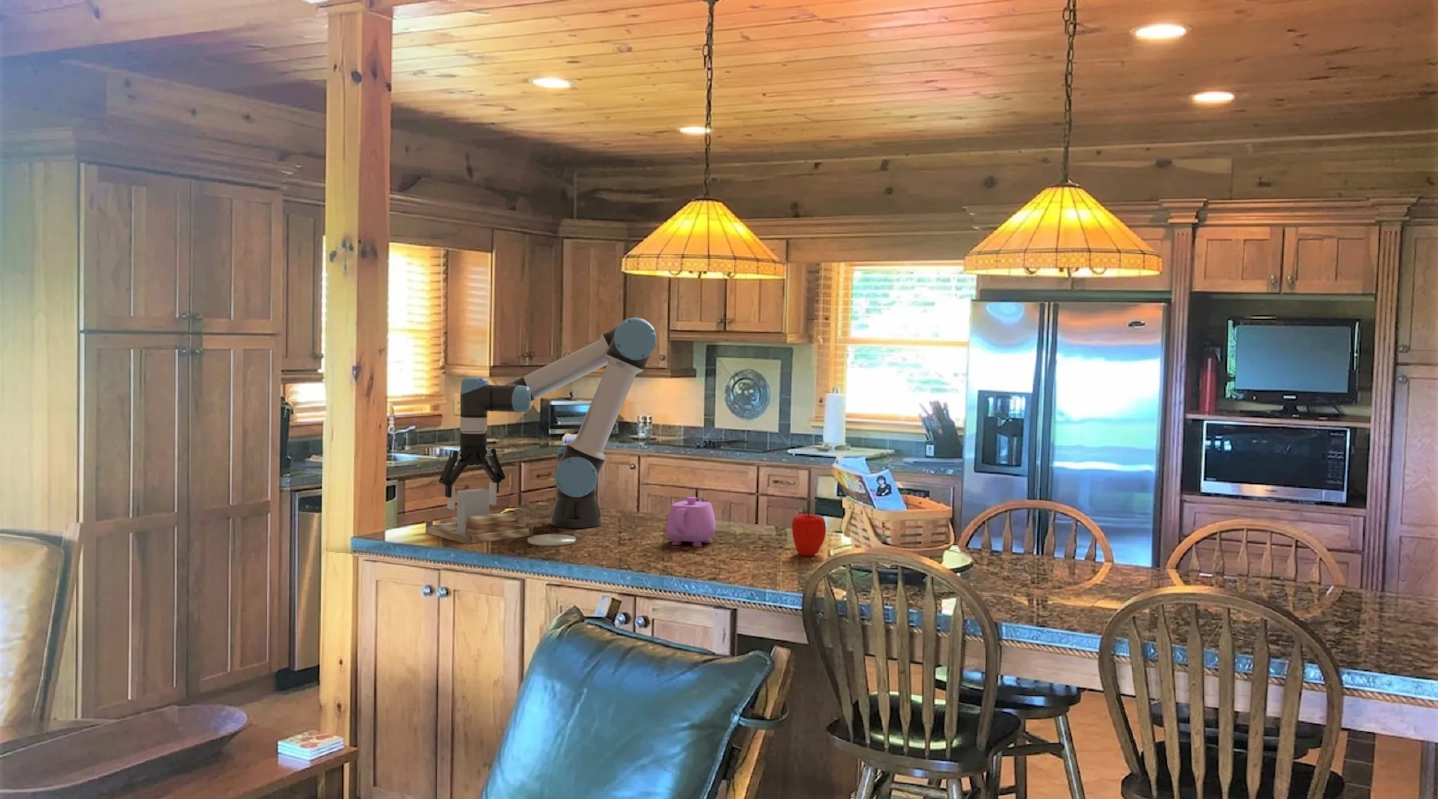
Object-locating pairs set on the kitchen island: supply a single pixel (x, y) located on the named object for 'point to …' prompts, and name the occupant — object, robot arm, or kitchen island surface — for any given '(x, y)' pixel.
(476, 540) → the rack
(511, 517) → the offcut stack
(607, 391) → the robot arm
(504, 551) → the kitchen island surface
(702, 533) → the teapot
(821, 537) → the apple
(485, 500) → the gray rectangular block
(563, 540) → the plate
